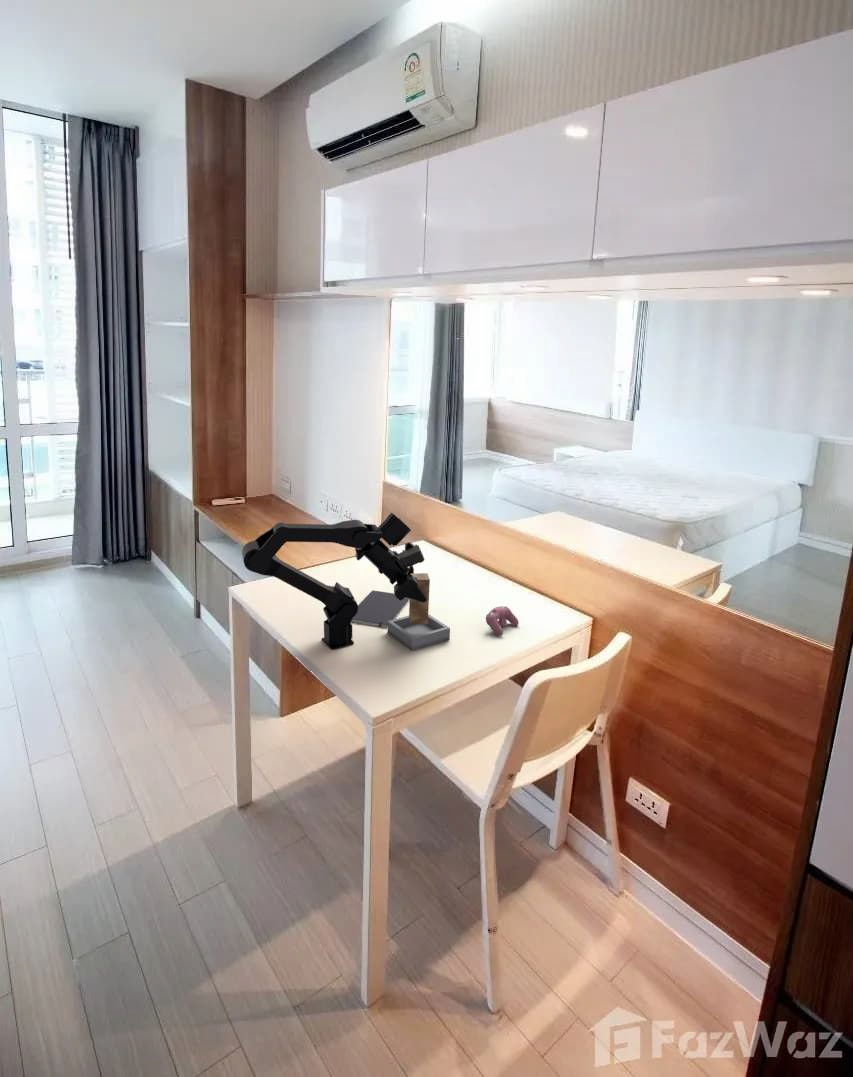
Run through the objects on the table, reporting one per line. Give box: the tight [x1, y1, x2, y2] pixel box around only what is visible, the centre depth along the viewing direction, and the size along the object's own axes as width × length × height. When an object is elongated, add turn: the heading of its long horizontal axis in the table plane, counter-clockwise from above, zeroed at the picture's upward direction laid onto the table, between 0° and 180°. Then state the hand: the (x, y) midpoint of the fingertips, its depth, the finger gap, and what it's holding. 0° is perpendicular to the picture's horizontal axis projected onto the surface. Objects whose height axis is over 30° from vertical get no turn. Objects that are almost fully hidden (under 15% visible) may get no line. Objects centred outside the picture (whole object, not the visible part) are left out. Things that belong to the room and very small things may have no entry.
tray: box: [387, 613, 451, 652], centre depth 174 cm, size 12×12×4 cm
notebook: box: [351, 590, 410, 628], centre depth 190 cm, size 13×2×21 cm
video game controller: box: [485, 605, 520, 637], centre depth 180 cm, size 10×5×7 cm, turn 141°
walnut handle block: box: [408, 572, 431, 624], centre depth 171 cm, size 4×4×12 cm
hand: (424, 597), depth 171 cm, fingers closed on walnut handle block, 4 cm apart
